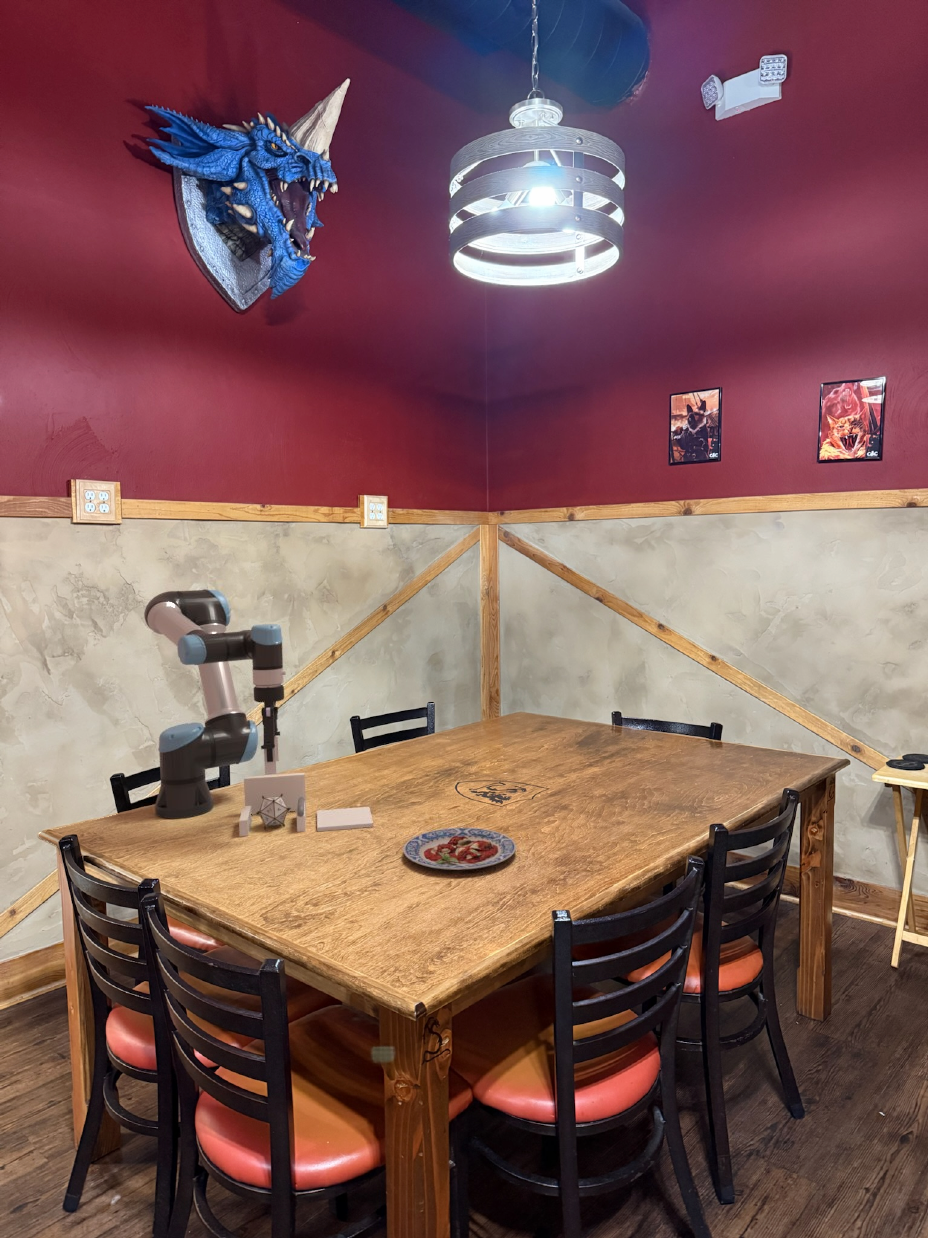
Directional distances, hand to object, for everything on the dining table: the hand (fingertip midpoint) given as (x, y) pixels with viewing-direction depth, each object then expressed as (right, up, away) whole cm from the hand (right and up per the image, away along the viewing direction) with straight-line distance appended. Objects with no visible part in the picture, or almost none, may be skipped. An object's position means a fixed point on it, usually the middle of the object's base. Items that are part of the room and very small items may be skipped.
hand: (272, 767), depth 202 cm
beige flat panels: (-1, -15, +5) cm, 16 cm away
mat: (+18, -15, +5) cm, 24 cm away
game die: (0, -16, +1) cm, 16 cm away
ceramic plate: (+48, -17, -21) cm, 55 cm away
